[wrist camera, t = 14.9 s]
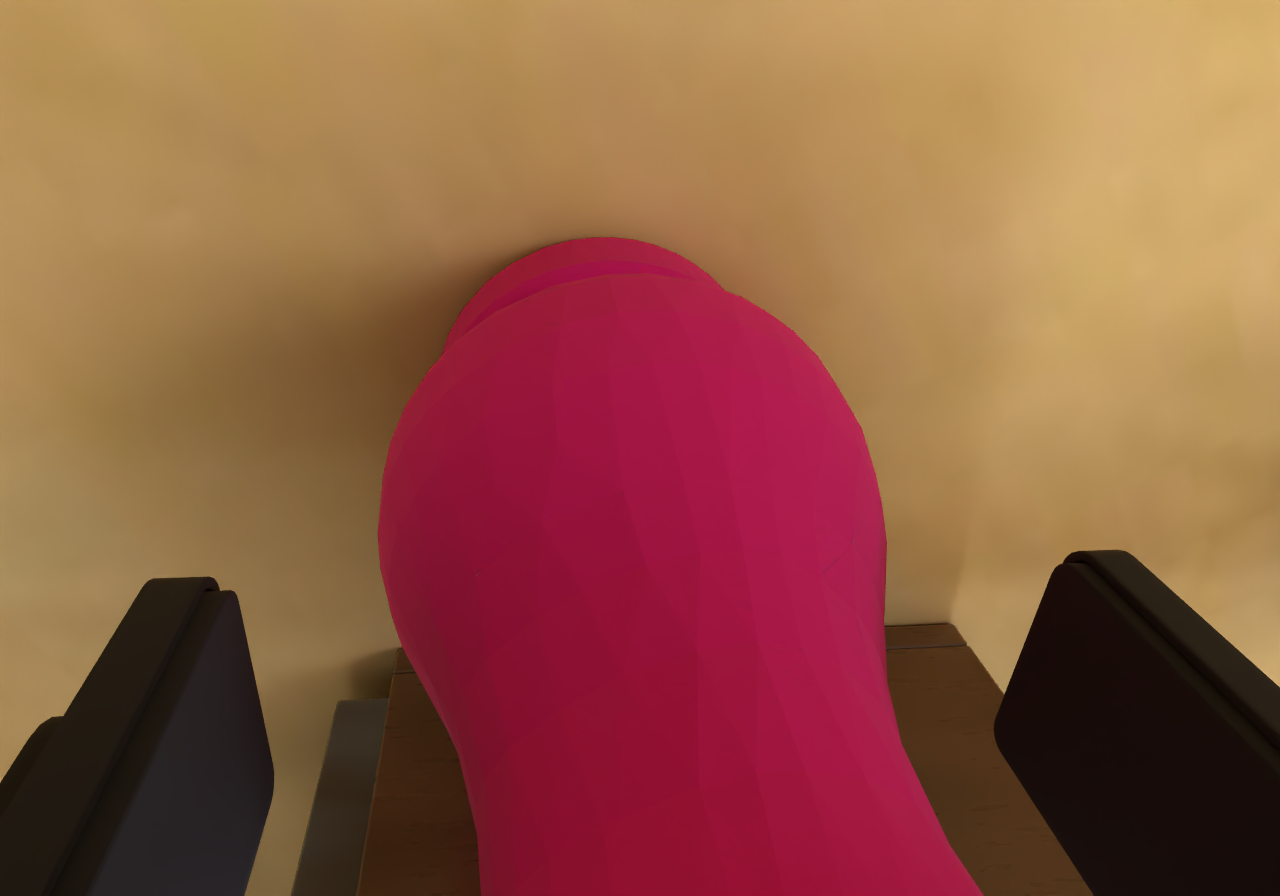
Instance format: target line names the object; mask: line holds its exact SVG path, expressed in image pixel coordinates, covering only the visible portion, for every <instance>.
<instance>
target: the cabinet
mask: <svg viewBox="0 0 1280 896" xmlns="http://www.w3.org/2000/svg"><path fill="white" fill-rule="evenodd" d="M885 644H886V663H887V681H888V686H889V691H890V695H891V699H892V704H893V708H894V712H895V717H896V721H897V726H898V730H899V734H900V739H901V743H902V746H903V748H904V750H905V752H906V754H907V756H908V758H909V760H910V763H911V765H912V767H913V769H914V771H915V773H916V775H917V777H918V779H919V781H920V784H921V786H922V788H923V790H924V792H925V794H926V796H927V798H928V800H929V802H930V804H931V807H932V809H933V811H934V813H935V815H936V817H937V819H938V821H939V823H940V825H941V828H942V830H943V832H944V834H945V836H946V838H947V840H948V842H949V844H950V846H951V848H952V849H953V851H954V852H955V854H956V855H957V856H958V858H959V859H960V861H961V862H962V864H963V865H964V867H965V868H966V870H967V871H968V873H969V874H970V876H971V877H972V879H973V880H974V882H975V883H976V885H977V886H978V888H979V889H980V890H981V892H982V893H983V895H984V896H1094V895H1093V894H1092V892H1091V891H1090V889H1089V888H1088V886H1087V885H1086V883H1085V881H1084V880H1083V878H1082V877H1081V875H1080V874H1079V872H1078V871H1077V869H1076V868H1075V866H1074V865H1073V863H1072V861H1071V860H1070V858H1069V857H1068V855H1067V854H1066V852H1065V851H1064V849H1063V848H1062V846H1061V845H1060V843H1059V842H1058V840H1057V838H1056V837H1055V835H1054V834H1053V832H1052V831H1051V829H1050V828H1049V826H1048V825H1047V823H1046V822H1045V820H1044V818H1043V817H1042V815H1041V814H1040V812H1039V811H1038V809H1037V808H1036V806H1035V805H1034V803H1033V802H1032V800H1031V798H1030V797H1029V795H1028V794H1027V792H1026V791H1025V789H1024V788H1023V786H1022V785H1021V783H1020V782H1019V780H1018V778H1017V777H1016V775H1015V774H1014V772H1013V771H1012V769H1011V768H1010V766H1009V765H1008V763H1007V762H1006V760H1005V759H1004V757H1003V755H1002V754H1001V752H1000V750H999V748H998V746H997V744H996V740H995V736H994V722H995V718H996V715H997V713H998V710H999V707H1000V705H1001V702H1002V700H1003V697H1004V694H1003V692H1002V691H1001V690H1000V688H999V687H998V685H997V684H996V683H995V681H994V680H993V678H992V677H991V676H990V674H989V673H988V671H987V670H986V669H985V667H984V666H983V664H982V663H981V662H980V660H979V659H978V657H977V656H976V655H975V653H974V652H973V650H972V649H971V648H970V647H969V646H967V643H966V641H965V640H964V638H963V637H962V636H961V634H960V633H959V631H958V630H957V629H956V627H955V626H954V625H952V624H944V625H921V626H899V627H885ZM356 896H481V886H480V871H479V856H478V840H477V832H476V828H475V824H474V819H473V815H472V811H471V807H470V802H469V798H468V794H467V790H466V785H465V781H464V777H463V773H462V768H461V764H460V760H459V756H458V753H457V751H456V748H455V746H454V744H453V742H452V739H451V737H450V735H449V733H448V731H447V729H446V727H445V725H444V723H443V721H442V719H441V718H440V716H439V714H438V712H437V710H436V708H435V707H434V705H433V703H432V701H431V699H430V697H429V695H428V694H427V692H426V690H425V688H424V686H423V684H422V683H421V681H420V679H419V677H418V675H417V673H416V671H415V670H414V668H413V666H412V664H411V662H410V660H409V659H408V657H407V655H406V653H405V651H404V649H399V650H398V651H397V653H396V659H395V665H394V671H393V677H392V682H391V688H390V694H389V700H388V705H387V711H386V717H385V723H384V729H383V735H382V741H381V747H380V753H379V759H378V765H377V771H376V777H375V783H374V789H373V795H372V801H371V807H370V812H369V818H368V824H367V830H366V836H365V842H364V848H363V854H362V860H361V866H360V872H359V878H358V884H357V890H356Z"/></svg>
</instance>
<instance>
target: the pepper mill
mask: <svg viewBox="0 0 1280 896" xmlns="http://www.w3.org/2000/svg"><path fill="white" fill-rule="evenodd" d="M378 543H379V556H380V568H381V573H382V577H383V581H384V585H385V589H386V594H387V598H388V602H389V606H390V610H391V615H392V618H393V621H394V624H395V627H396V630H397V633H398V636H399V639H400V642H401V646H402V647H403V649H404V651H405V653H406V655H407V657H408V659H409V660H410V662H411V664H412V666H413V668H414V670H415V671H416V673H417V675H418V677H419V679H420V681H421V683H422V684H423V686H424V688H425V690H426V692H427V694H428V695H429V697H430V699H431V701H432V703H433V705H434V707H435V708H436V710H437V712H438V714H439V716H440V718H441V719H442V721H443V723H444V725H445V727H446V729H447V731H448V733H449V735H450V737H451V739H452V742H453V744H454V746H455V748H456V751H457V753H458V756H459V760H460V764H461V768H462V773H463V777H464V781H465V785H466V790H467V794H468V798H469V802H470V807H471V811H472V815H473V819H474V824H475V828H476V832H477V840H478V856H479V871H480V886H481V896H984V895H983V893H982V892H981V890H980V889H979V888H978V886H977V885H976V883H975V882H974V880H973V879H972V877H971V876H970V874H969V873H968V871H967V870H966V868H965V867H964V865H963V864H962V862H961V861H960V859H959V858H958V856H957V855H956V854H955V852H954V851H953V849H952V848H951V846H950V844H949V842H948V840H947V838H946V836H945V834H944V832H943V830H942V828H941V825H940V823H939V821H938V819H937V817H936V815H935V813H934V811H933V809H932V807H931V804H930V802H929V800H928V798H927V796H926V794H925V792H924V790H923V788H922V786H921V784H920V781H919V779H918V777H917V775H916V773H915V771H914V769H913V767H912V765H911V763H910V760H909V758H908V756H907V754H906V752H905V750H904V748H903V746H902V743H901V739H900V734H899V730H898V726H897V721H896V717H895V712H894V708H893V704H892V699H891V695H890V691H889V686H888V681H887V663H886V644H885V626H884V612H885V584H886V555H887V540H886V532H885V525H884V517H883V510H882V502H881V497H880V493H879V488H878V483H877V478H876V474H875V471H874V467H873V464H872V461H871V458H870V454H869V451H868V448H867V444H866V441H865V438H864V434H863V431H862V428H861V426H860V425H859V423H858V421H857V419H856V418H855V416H854V414H853V413H852V411H851V409H850V407H849V406H848V404H847V402H846V400H845V399H844V397H843V395H842V394H841V392H840V390H839V388H838V387H837V385H836V383H835V382H834V380H833V379H832V377H831V376H830V374H829V373H828V371H827V370H826V368H825V367H824V365H823V364H822V362H821V360H820V359H819V357H818V356H817V355H816V354H815V353H814V352H813V351H812V350H811V349H810V348H809V347H808V346H807V345H806V344H805V343H804V342H803V340H802V339H801V338H800V337H799V336H798V335H797V334H796V333H795V332H794V331H793V330H791V329H790V328H788V327H787V326H786V325H784V324H783V323H782V322H780V321H779V320H778V319H776V318H775V317H773V316H772V315H771V314H769V313H768V312H766V311H765V310H763V309H761V308H760V307H758V306H756V305H754V304H753V303H751V302H749V301H747V300H746V299H744V298H742V297H740V296H737V295H735V294H732V293H730V292H727V291H725V290H724V289H723V288H722V287H721V286H720V285H719V284H718V283H717V282H716V281H715V280H714V279H713V278H712V277H711V276H710V275H709V274H707V273H706V272H704V271H703V270H702V269H700V268H699V267H698V266H696V265H695V264H694V263H692V262H690V261H689V260H687V259H685V258H683V257H682V256H680V255H678V254H676V253H674V252H671V251H669V250H666V249H664V248H661V247H659V246H656V245H653V244H649V243H645V242H641V241H637V240H631V239H623V238H614V237H603V238H586V239H577V240H570V241H567V242H563V243H559V244H555V245H552V246H548V247H545V248H543V249H541V250H538V251H536V252H534V253H532V254H530V255H528V256H526V257H524V258H522V259H520V260H517V261H515V262H513V263H512V264H511V265H509V266H508V267H506V268H505V269H504V270H502V271H501V272H499V273H498V274H497V275H495V276H494V277H492V278H491V279H490V280H488V281H487V282H486V283H485V284H484V286H483V287H482V288H481V289H480V290H479V291H478V292H477V293H476V295H475V296H474V297H473V298H472V299H471V300H470V301H469V303H468V304H467V305H466V306H465V307H464V309H463V310H462V312H461V313H460V315H459V317H458V318H457V320H456V322H455V324H454V325H453V327H452V329H451V331H450V332H449V334H448V337H447V340H446V343H445V346H444V349H443V352H442V355H441V357H440V359H439V360H438V361H437V362H436V363H435V364H434V365H433V366H432V367H431V368H430V370H429V371H428V373H427V374H426V376H425V377H424V379H423V380H422V382H421V383H420V385H419V386H418V388H417V389H416V391H415V392H414V394H413V395H412V397H411V398H410V400H409V402H408V403H407V405H406V407H405V408H404V411H403V413H402V416H401V418H400V420H399V423H398V425H397V428H396V430H395V432H394V435H393V437H392V439H391V442H390V446H389V451H388V456H387V460H386V465H385V470H384V474H383V483H382V493H381V504H380V515H379V526H378Z"/></svg>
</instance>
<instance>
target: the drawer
mask: <svg viewBox="0 0 1280 896" xmlns="http://www.w3.org/2000/svg"><path fill="white" fill-rule="evenodd" d="M388 700H389V698H377V699H359V700H341V701H338V702H337V705H336V709H335V713H334V717H333V721H332V725H331V729H330V734H329V738H328V742H327V746H326V750H325V754H324V759H323V763H322V767H321V771H320V775H319V779H318V783H317V788H316V792H315V796H314V800H313V804H312V808H311V813H310V817H309V821H308V825H307V829H306V833H305V838H304V842H303V846H302V850H301V854H300V858H299V862H298V867H297V871H296V875H295V879H294V883H293V887H292V892H291V896H356V890H357V884H358V878H359V872H360V866H361V860H362V854H363V848H364V842H365V836H366V830H367V824H368V818H369V812H370V807H371V801H372V795H373V789H374V783H375V777H376V771H377V765H378V759H379V753H380V747H381V741H382V735H383V729H384V723H385V717H386V711H387V705H388Z"/></svg>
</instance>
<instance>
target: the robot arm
mask: <svg viewBox="0 0 1280 896" xmlns="http://www.w3.org/2000/svg"><path fill="white" fill-rule="evenodd" d="M994 736H995V740H996V744H997V746H998V748H999V750H1000V752H1001V754H1002V755H1003V757H1004V759H1005V760H1006V762H1007V763H1008V765H1009V766H1010V768H1011V769H1012V771H1013V772H1014V774H1015V775H1016V777H1017V778H1018V780H1019V782H1020V783H1021V785H1022V786H1023V788H1024V789H1025V791H1026V792H1027V794H1028V795H1029V797H1030V798H1031V800H1032V802H1033V803H1034V805H1035V806H1036V808H1037V809H1038V811H1039V812H1040V814H1041V815H1042V817H1043V818H1044V820H1045V822H1046V823H1047V825H1048V826H1049V828H1050V829H1051V831H1052V832H1053V834H1054V835H1055V837H1056V838H1057V840H1058V842H1059V843H1060V845H1061V846H1062V848H1063V849H1064V851H1065V852H1066V854H1067V855H1068V857H1069V858H1070V860H1071V861H1072V863H1073V865H1074V866H1075V868H1076V869H1077V871H1078V872H1079V874H1080V875H1081V877H1082V878H1083V880H1084V881H1085V883H1086V885H1087V886H1088V888H1089V889H1090V891H1091V892H1092V894H1093V895H1094V896H1280V687H1279V686H1278V685H1276V684H1275V683H1274V682H1273V681H1272V680H1271V679H1270V678H1269V677H1267V676H1266V675H1265V674H1264V673H1263V672H1262V671H1261V670H1260V669H1259V668H1257V667H1256V666H1255V665H1254V664H1253V663H1252V662H1251V661H1250V660H1249V659H1247V658H1246V657H1245V656H1244V655H1243V654H1242V653H1241V652H1240V651H1239V650H1237V649H1236V648H1235V647H1234V646H1233V645H1232V644H1231V643H1230V642H1229V641H1227V640H1226V639H1225V638H1224V637H1223V636H1222V635H1221V634H1220V633H1218V632H1217V631H1216V630H1215V629H1214V628H1213V627H1212V626H1211V625H1210V624H1208V623H1207V622H1206V621H1205V620H1204V619H1203V618H1202V617H1201V616H1200V615H1198V614H1197V613H1196V612H1195V611H1194V610H1193V609H1192V608H1191V607H1190V606H1188V605H1187V604H1186V603H1185V602H1184V601H1183V600H1182V599H1181V598H1180V597H1178V596H1177V595H1176V594H1175V593H1174V592H1173V591H1172V590H1171V589H1169V588H1168V587H1167V586H1166V585H1165V584H1164V583H1163V582H1162V581H1161V580H1159V579H1158V578H1157V577H1156V576H1155V575H1154V574H1153V573H1152V572H1151V571H1149V570H1148V569H1147V568H1146V567H1145V566H1144V565H1143V564H1142V563H1141V562H1139V561H1138V560H1137V559H1136V558H1135V557H1134V556H1132V555H1131V554H1129V553H1128V552H1126V551H1121V550H1097V551H1077V552H1073V553H1071V554H1070V555H1068V556H1067V557H1066V558H1065V560H1064V562H1063V563H1062V564H1060V565H1058V566H1057V567H1056V568H1055V569H1054V571H1053V572H1052V574H1051V577H1050V579H1049V582H1048V584H1047V587H1046V590H1045V592H1044V595H1043V597H1042V600H1041V602H1040V605H1039V607H1038V610H1037V613H1036V615H1035V618H1034V620H1033V623H1032V625H1031V628H1030V631H1029V633H1028V636H1027V638H1026V641H1025V643H1024V646H1023V649H1022V651H1021V654H1020V656H1019V659H1018V661H1017V664H1016V666H1015V669H1014V672H1013V674H1012V677H1011V679H1010V682H1009V684H1008V687H1007V690H1006V692H1005V695H1004V697H1003V700H1002V702H1001V705H1000V707H999V710H998V713H997V715H996V718H995V722H994ZM273 789H274V767H273V762H272V757H271V752H270V747H269V743H268V738H267V733H266V728H265V724H264V719H263V714H262V709H261V705H260V700H259V695H258V690H257V686H256V681H255V676H254V671H253V667H252V662H251V657H250V652H249V648H248V643H247V638H246V633H245V629H244V624H243V619H242V614H241V610H240V605H239V601H238V597H237V595H236V593H235V592H234V591H232V590H225V591H220V589H219V586H218V583H217V582H216V580H215V579H214V578H211V577H187V578H153V579H151V580H149V581H147V582H146V584H145V585H144V586H143V587H142V589H141V590H140V592H139V594H138V595H137V597H136V598H135V600H134V602H133V603H132V605H131V607H130V608H129V610H128V612H127V613H126V615H125V616H124V618H123V620H122V621H121V623H120V625H119V626H118V628H117V629H116V631H115V633H114V634H113V636H112V638H111V639H110V641H109V642H108V644H107V646H106V647H105V649H104V651H103V652H102V654H101V656H100V657H99V659H98V660H97V662H96V664H95V665H94V667H93V669H92V670H91V672H90V673H89V675H88V677H87V678H86V680H85V682H84V683H83V685H82V687H81V688H80V690H79V691H78V693H77V695H76V696H75V698H74V700H73V701H72V703H71V704H70V706H69V708H68V709H67V711H66V713H65V714H64V716H59V717H51V718H50V719H48V720H47V721H45V722H44V723H42V724H40V725H39V727H38V728H37V729H36V730H35V732H34V733H33V734H32V735H31V737H30V738H29V739H28V741H27V742H26V744H25V745H24V747H23V748H22V750H21V751H20V753H19V755H18V756H17V758H16V759H15V761H14V762H13V764H12V765H11V767H10V769H9V770H8V772H7V773H6V775H5V776H4V778H3V780H2V781H1V783H0V896H244V895H245V891H246V888H247V884H248V881H249V877H250V874H251V870H252V867H253V864H254V860H255V857H256V853H257V850H258V846H259V843H260V840H261V836H262V833H263V829H264V826H265V822H266V819H267V815H268V812H269V809H270V805H271V801H272V796H273Z"/></svg>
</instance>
